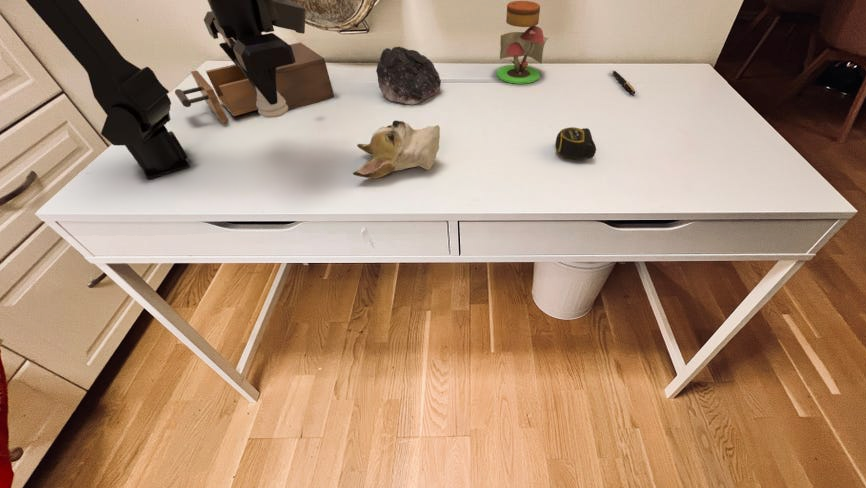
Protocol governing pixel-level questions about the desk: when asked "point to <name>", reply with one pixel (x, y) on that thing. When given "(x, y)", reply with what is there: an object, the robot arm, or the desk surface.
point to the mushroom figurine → (522, 43)
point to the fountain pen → (624, 82)
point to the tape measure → (575, 143)
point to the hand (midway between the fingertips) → (269, 99)
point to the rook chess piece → (271, 106)
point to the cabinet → (304, 78)
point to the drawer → (223, 91)
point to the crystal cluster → (407, 76)
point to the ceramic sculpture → (399, 149)
